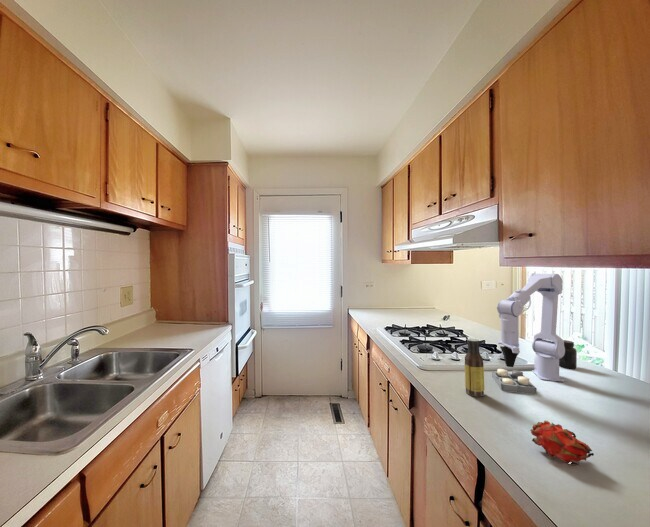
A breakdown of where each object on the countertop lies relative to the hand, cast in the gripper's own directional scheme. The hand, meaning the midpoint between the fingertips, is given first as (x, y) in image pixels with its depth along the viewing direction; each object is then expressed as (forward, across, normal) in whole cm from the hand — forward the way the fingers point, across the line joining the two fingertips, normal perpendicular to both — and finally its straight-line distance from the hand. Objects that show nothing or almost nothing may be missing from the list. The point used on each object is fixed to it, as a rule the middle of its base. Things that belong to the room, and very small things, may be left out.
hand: (509, 366), depth 106 cm
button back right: (+6, -6, -1) cm, 9 cm away
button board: (+8, -3, +2) cm, 9 cm away
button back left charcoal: (+6, -6, +4) cm, 10 cm away
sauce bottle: (+8, +9, -14) cm, 19 cm away
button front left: (+6, 0, +4) cm, 7 cm away
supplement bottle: (+9, -34, +33) cm, 48 cm away
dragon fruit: (+8, +40, -1) cm, 41 cm away
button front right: (+7, 0, -1) cm, 7 cm away
